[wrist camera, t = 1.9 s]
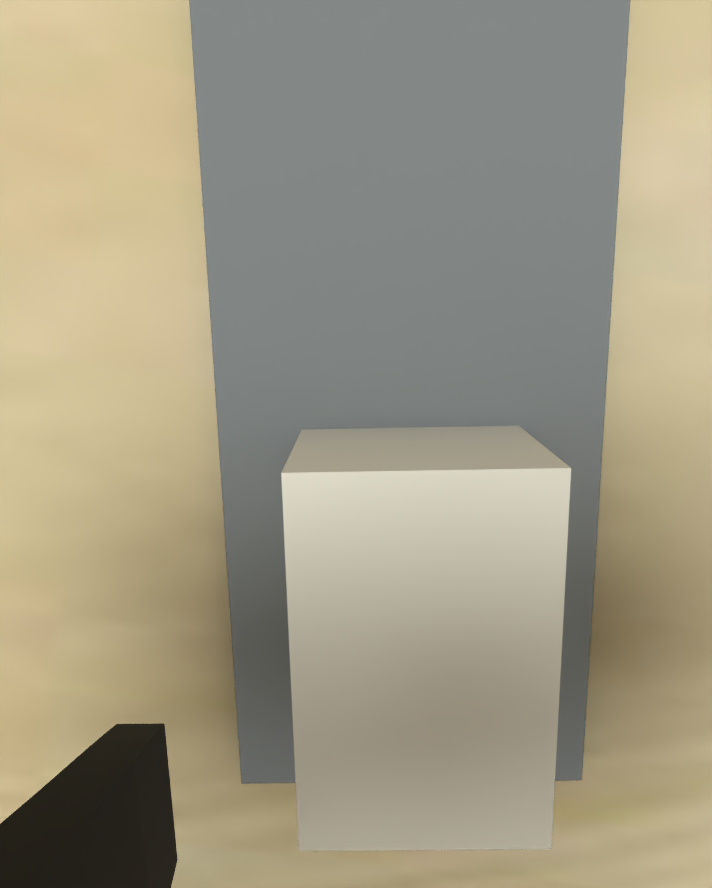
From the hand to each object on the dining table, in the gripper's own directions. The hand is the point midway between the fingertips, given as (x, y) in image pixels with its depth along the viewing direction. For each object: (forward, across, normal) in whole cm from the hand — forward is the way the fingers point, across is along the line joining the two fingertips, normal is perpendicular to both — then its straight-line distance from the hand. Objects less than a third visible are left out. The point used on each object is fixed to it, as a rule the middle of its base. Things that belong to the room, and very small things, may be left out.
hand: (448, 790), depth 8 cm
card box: (+6, 0, 0) cm, 6 cm away
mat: (+7, 0, -4) cm, 8 cm away
